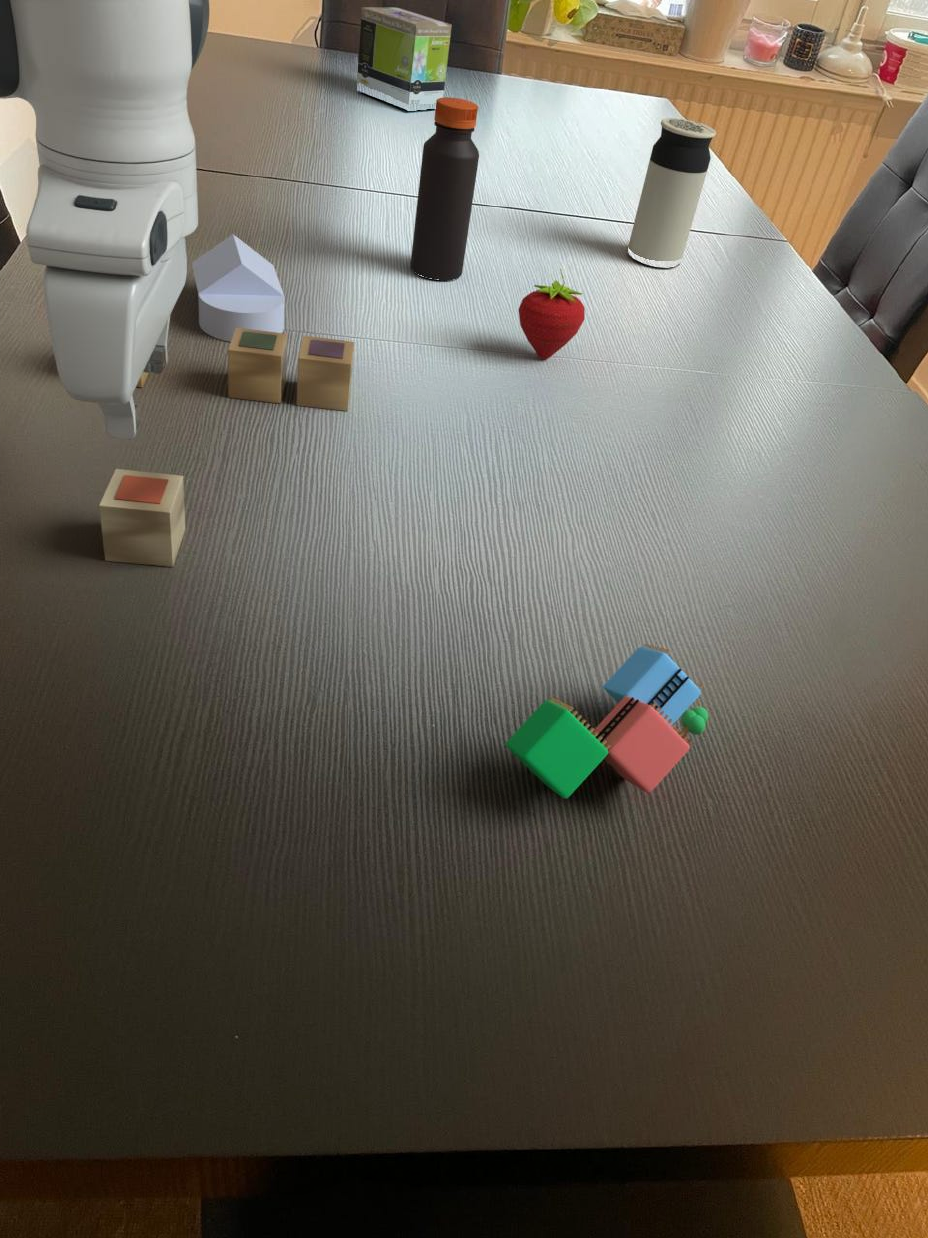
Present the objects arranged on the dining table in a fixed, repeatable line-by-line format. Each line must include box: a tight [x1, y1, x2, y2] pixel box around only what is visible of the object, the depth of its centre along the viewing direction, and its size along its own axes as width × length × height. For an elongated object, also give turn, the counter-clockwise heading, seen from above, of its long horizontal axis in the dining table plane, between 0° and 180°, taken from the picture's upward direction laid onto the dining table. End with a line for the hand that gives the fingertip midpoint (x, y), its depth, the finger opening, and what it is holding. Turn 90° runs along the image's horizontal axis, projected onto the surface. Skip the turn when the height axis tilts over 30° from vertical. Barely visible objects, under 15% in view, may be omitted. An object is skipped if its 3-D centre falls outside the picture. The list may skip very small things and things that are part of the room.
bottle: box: [410, 96, 480, 281], centre depth 121 cm, size 7×7×20 cm
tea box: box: [356, 6, 453, 105], centre depth 188 cm, size 15×10×15 cm
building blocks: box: [505, 643, 709, 800], centre depth 64 cm, size 8×8×12 cm
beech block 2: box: [295, 335, 355, 412], centre depth 96 cm, size 5×5×5 cm
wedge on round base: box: [191, 233, 286, 343], centre depth 107 cm, size 9×7×13 cm
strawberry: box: [518, 268, 586, 360], centre depth 109 cm, size 6×8×10 cm
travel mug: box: [627, 117, 717, 261], centre depth 138 cm, size 8×8×18 cm
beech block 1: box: [227, 328, 288, 404], centre depth 95 cm, size 5×5×5 cm
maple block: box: [98, 468, 186, 568], centre depth 74 cm, size 5×5×5 cm
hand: (139, 399), depth 68 cm, fingers open, 8 cm apart
